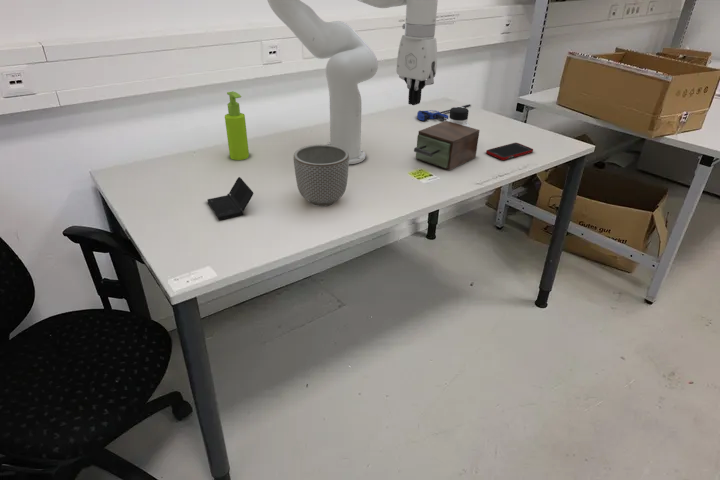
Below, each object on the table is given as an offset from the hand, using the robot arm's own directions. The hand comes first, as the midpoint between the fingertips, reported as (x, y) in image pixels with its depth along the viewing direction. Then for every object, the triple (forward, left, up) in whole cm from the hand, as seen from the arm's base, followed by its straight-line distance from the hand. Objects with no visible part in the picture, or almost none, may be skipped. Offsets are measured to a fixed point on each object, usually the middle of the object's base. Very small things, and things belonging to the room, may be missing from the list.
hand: (414, 103), depth 132 cm
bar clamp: (+42, +49, -21) cm, 68 cm away
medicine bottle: (+27, +19, -21) cm, 39 cm away
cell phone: (+39, +5, -21) cm, 45 cm away
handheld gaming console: (-52, -3, -21) cm, 56 cm away
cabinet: (+17, +8, -21) cm, 28 cm away
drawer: (+13, +6, -20) cm, 25 cm away
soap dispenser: (-44, +30, -21) cm, 57 cm away
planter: (-29, -7, -21) cm, 36 cm away
